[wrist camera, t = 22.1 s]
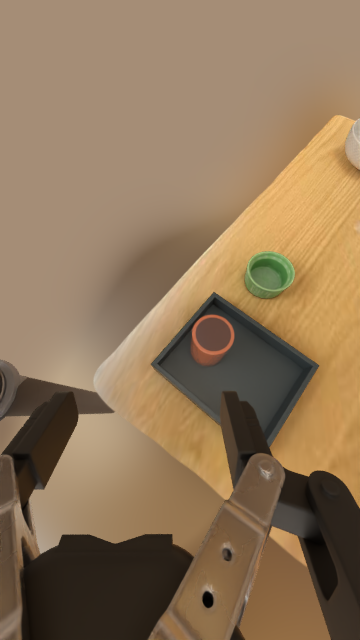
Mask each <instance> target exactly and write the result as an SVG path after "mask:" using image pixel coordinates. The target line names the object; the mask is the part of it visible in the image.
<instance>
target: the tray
mask: <svg viewBox="0 0 360 640" xmlns="http://www.w3.org/2000/svg"><path fill="white" fill-rule="evenodd" d="M206 315H218V316H221V317H223V318H225V319H226V320H227V321H228V322H229V323H230V324H231V326H232V327H233V330H234V341H233V344H232V346H231V347H230V349H229V350H228V351H227V353H226V354H225V355H224V356H223V358H222V359H221V360H220V361H219V362H218V363H217V364H215V365H213V366H203V365H200V364H198V363H197V362H196V361H195V360H194V359H193V357H192V355H191V352H190V345H191V337H192V330H193V327H194V325H195V323H196V322H197V321H198V320H199V319H200V318H202V317H204V316H206ZM151 365H152V367H153V368H154V369H155V370H156V371H157V372H158V373H160V374H161V375H162V376H163V377H164V378H165V379H166V380H168V381H169V382H170V383H171V384H172V385H173V386H175V387H176V388H177V389H178V390H179V391H180V392H182V393H183V394H184V395H185V396H186V397H187V398H188V399H190V400H191V401H192V402H193V403H194V404H195V405H197V406H198V407H199V408H200V409H201V410H202V411H203V412H205V413H206V414H207V415H208V416H209V417H210V418H212V419H213V420H214V421H215V422H216V423H217V424H219V425H220V426H221V422H220V407H221V394H222V391H236V392H237V394H238V397H239V400H240V401H247V402H248V403H249V404H250V405H251V406H252V407H253V408H254V410H255V413H256V415H257V419H258V420H259V423H260V426H261V428H262V431H263V433H264V436H265V438H266V441H267V443H268V446H269V447H270V446H271V444H272V442H273V441H274V439H275V437H276V436H277V434H278V432H279V431H280V429H281V428H282V426H283V424H284V423H285V421H286V419H287V418H288V416H289V414H290V413H291V411H292V410H293V408H294V406H295V405H296V403H297V401H298V400H299V398H300V396H301V395H302V393H303V391H304V390H305V388H306V387H307V385H308V383H309V382H310V380H311V378H312V377H313V375H314V373H315V372H316V370H317V369H318V367H319V365H318V364H316V363H315V362H314V361H312V360H311V359H309V358H308V357H306V356H305V355H304V354H302V353H301V352H299V351H298V350H296V349H295V348H294V347H292V346H291V345H289V344H288V343H286V342H285V341H283V340H282V339H281V338H279V337H278V336H276V335H275V334H273V333H272V332H271V331H269V330H268V329H266V328H265V327H263V326H262V325H261V324H259V323H258V322H256V321H255V320H253V319H252V318H251V317H249V316H248V315H246V314H245V313H243V312H242V311H241V310H239V309H238V308H236V307H235V306H233V305H232V304H230V303H229V302H228V301H226V300H225V299H223V298H222V297H220V296H219V295H218V294H216V293H215V292H213V294H212V295H211V296H210V297H209V298H208V299H207V301H206V302H205V303H204V304H203V305H202V306H201V307H200V309H199V310H198V311H197V312H196V313H195V314H194V315H193V317H192V318H191V319H190V320H189V321H188V322H187V323H186V325H185V326H184V327H183V328H182V329H181V330H180V331H179V333H178V334H177V335H176V336H175V337H174V338H173V339H172V341H171V342H170V343H169V344H168V345H167V346H166V347H165V349H164V350H163V351H162V352H161V353H160V354H159V355H158V357H157V358H156V359H155V360H154V361H153V362H152V363H151Z"/></svg>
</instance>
